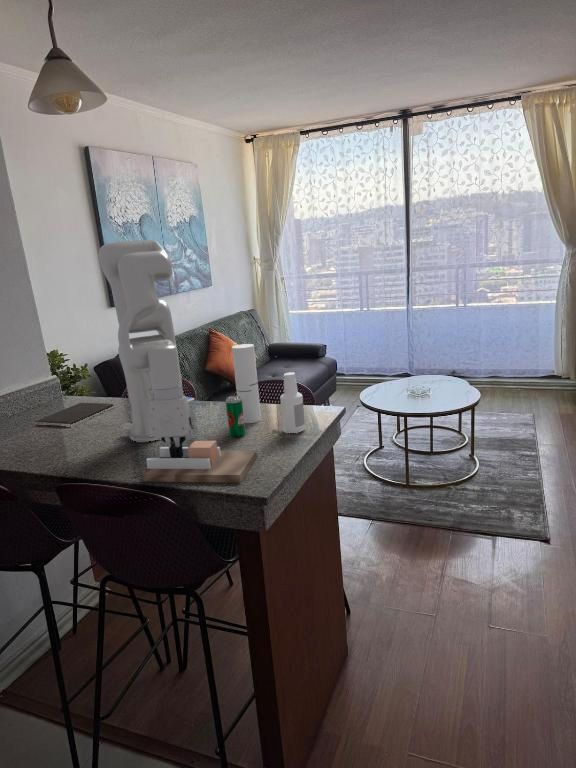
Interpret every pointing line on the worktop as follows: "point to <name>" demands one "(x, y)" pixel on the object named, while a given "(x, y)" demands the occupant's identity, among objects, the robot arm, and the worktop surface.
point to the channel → (178, 461)
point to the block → (204, 450)
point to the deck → (208, 470)
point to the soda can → (235, 416)
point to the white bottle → (292, 406)
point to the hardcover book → (75, 413)
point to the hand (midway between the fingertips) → (177, 459)
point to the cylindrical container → (247, 381)
